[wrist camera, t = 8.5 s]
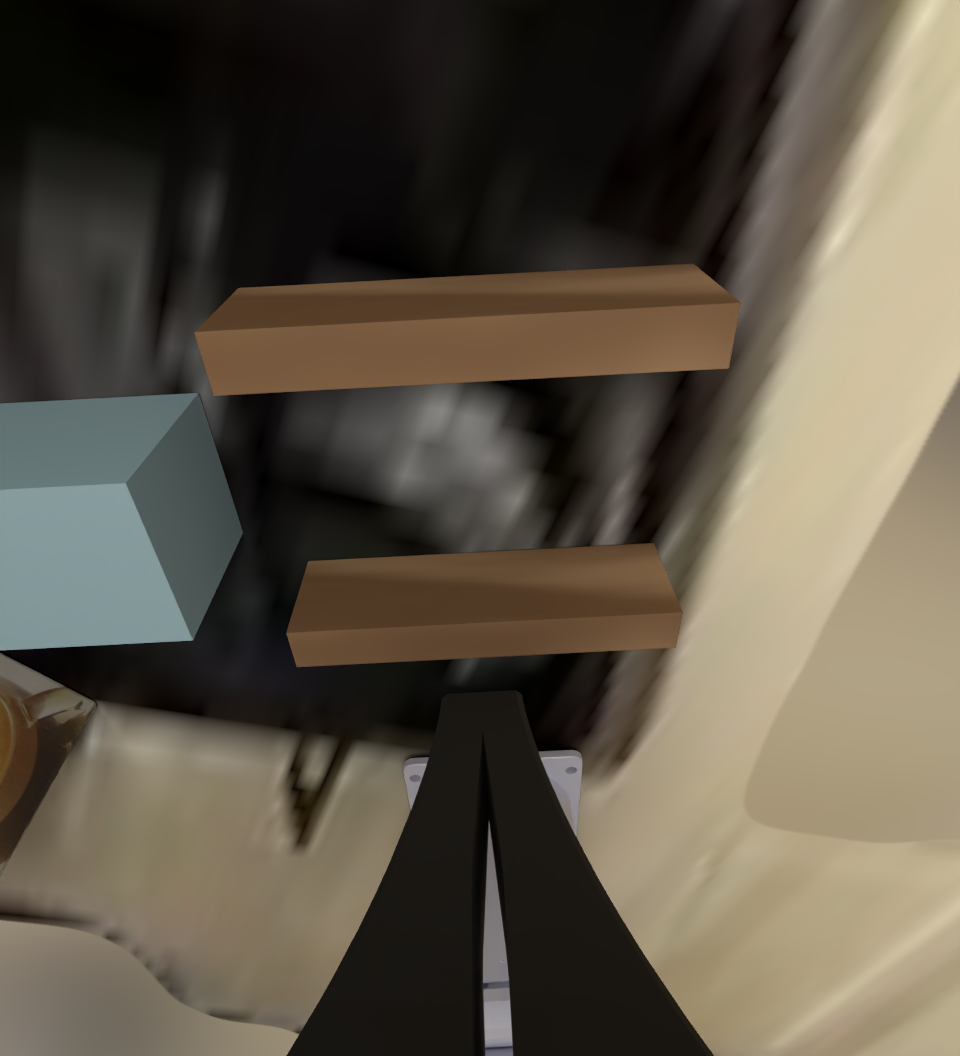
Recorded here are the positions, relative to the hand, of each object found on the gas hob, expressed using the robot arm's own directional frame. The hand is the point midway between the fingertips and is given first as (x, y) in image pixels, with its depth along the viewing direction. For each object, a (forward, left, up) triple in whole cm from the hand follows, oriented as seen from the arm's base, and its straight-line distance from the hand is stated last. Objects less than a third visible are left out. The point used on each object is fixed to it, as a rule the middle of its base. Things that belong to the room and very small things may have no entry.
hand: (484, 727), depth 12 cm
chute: (0, 0, -10) cm, 10 cm away
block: (0, +12, -10) cm, 16 cm away
